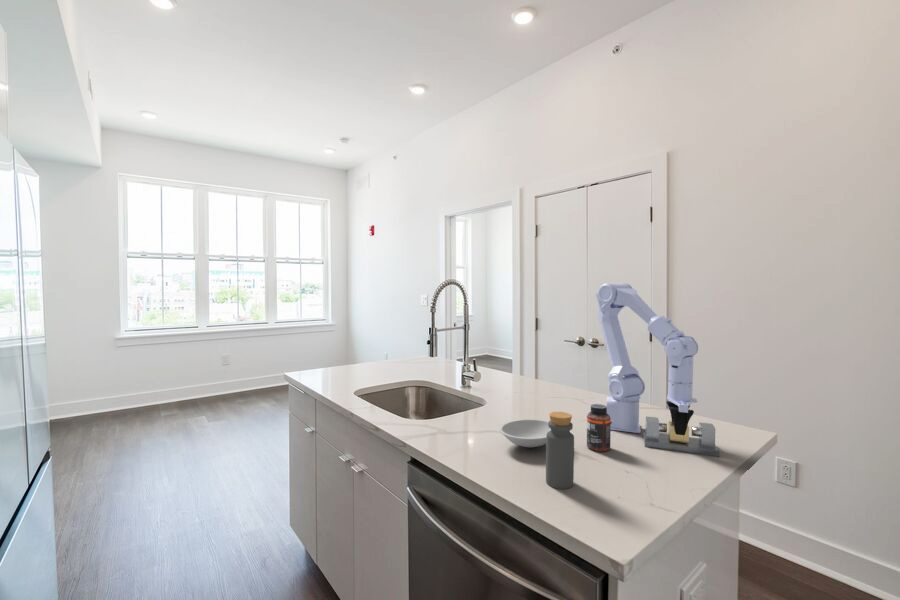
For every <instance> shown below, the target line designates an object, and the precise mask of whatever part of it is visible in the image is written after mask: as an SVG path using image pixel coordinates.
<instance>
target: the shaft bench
mask: <svg viewBox="0 0 900 600" xmlns="http://www.w3.org/2000/svg"><path fill="white" fill-rule="evenodd" d="M698 425H699V426H691V427H690V434H691V437H690V436H689V443H685V442H678V441H670V439H669V436H668V424H667V423H666V422H665V423H664V422H660V420H659V417H656V416H654V417H653V416H645V431H642V439H643V445H644V447H646V448H654V449H660V450H667V451H674V452H682V453H690V454H697V455H703V456H711V457H720V455H719V454H720V450H719V448H718V447H717V445H716V426H714V424H713V423H710V422H701V421H700V422H699V423H698Z"/></svg>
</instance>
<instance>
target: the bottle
mask: <svg viewBox="0 0 900 600" xmlns="http://www.w3.org/2000/svg"><path fill="white" fill-rule="evenodd" d="M572 417H573V416H572V414H570V413H569V412H564V411H551V412H550V413H549V419H550V420H548V421H549V422H548V426H549V428H551V431H549V432H548V433H547V436H546V444H545V449H546V450H545V483H546V484H547V485H548V486H549V487H552V488H555V489H560V490H567V489H568V490H569V489H570V488H572V487H573V486H574V475H575V474H574V473H575V472H574V471H575V468H574V467H575V436H574V434H573V433H572V432H571V431H572V430H573V429H574V428H573V427H574V425H573V423H572Z"/></svg>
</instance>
